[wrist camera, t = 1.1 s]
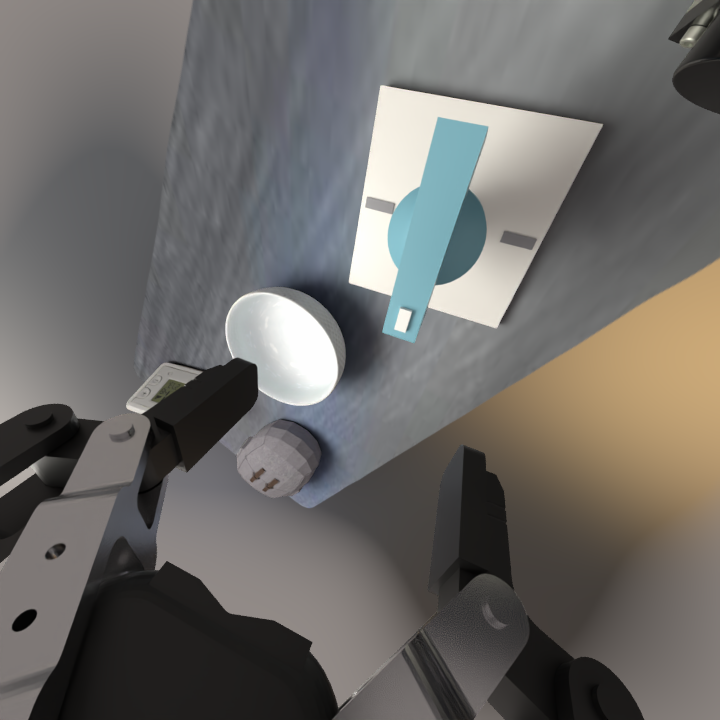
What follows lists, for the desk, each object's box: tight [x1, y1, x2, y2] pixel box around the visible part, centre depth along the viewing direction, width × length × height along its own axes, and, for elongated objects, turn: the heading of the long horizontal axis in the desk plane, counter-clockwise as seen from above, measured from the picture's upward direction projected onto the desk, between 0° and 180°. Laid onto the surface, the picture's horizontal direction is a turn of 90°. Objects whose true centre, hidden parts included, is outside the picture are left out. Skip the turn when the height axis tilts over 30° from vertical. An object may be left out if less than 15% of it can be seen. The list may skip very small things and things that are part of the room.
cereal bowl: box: [226, 287, 346, 406], centre depth 40 cm, size 17×17×7 cm
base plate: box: [349, 85, 603, 328], centre depth 27 cm, size 18×18×8 cm
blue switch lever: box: [382, 117, 489, 343], centre depth 20 cm, size 12×7×8 cm, turn 169°
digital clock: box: [126, 363, 204, 414], centre depth 54 cm, size 16×9×11 cm, turn 76°
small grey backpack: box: [237, 420, 322, 498], centre depth 57 cm, size 15×8×20 cm
